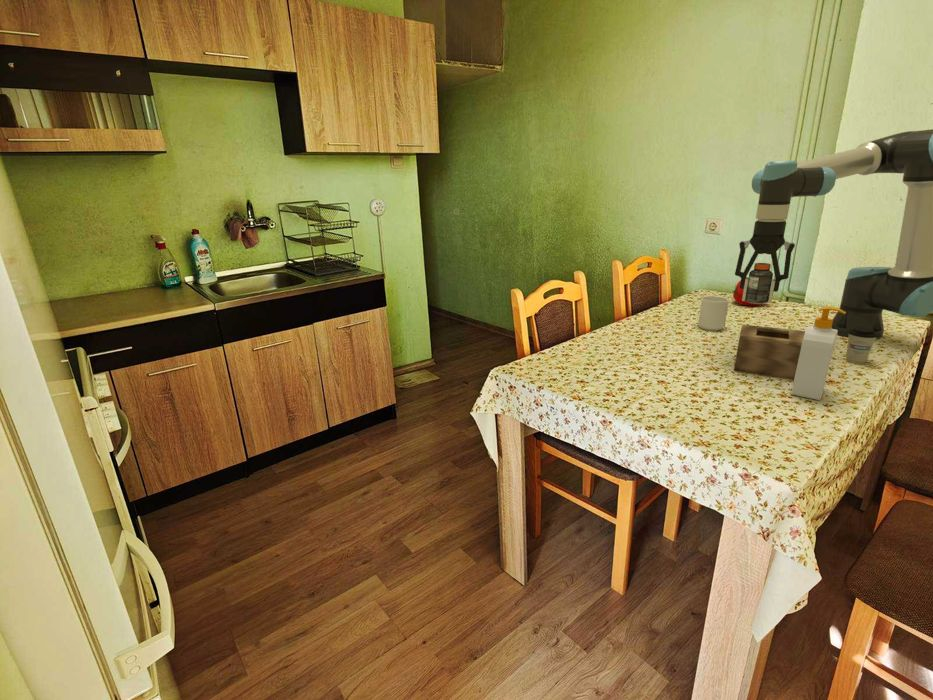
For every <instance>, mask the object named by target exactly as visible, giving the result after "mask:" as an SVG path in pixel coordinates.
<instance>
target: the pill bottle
mask: <svg viewBox="0 0 933 700" xmlns="http://www.w3.org/2000/svg"><path fill="white" fill-rule="evenodd" d="M753 265H754V266H753V269H752V270H750V271H749V272H748V277H749V280H748V286H747V292H746V298H745V300H746V301H747V302H749V303H755V304H761V305H764V304H768V300H769V295H770V290H771V284H772V279H773V276H774V272H773V271H771V267H772V266H771V263H769V262H756V263H755V262H754V264H753Z"/></svg>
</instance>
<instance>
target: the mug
mask: <svg viewBox="0 0 933 700" xmlns="http://www.w3.org/2000/svg"><path fill="white" fill-rule="evenodd" d="M729 303H730V300H729V298H727V297H724V296H718V295H706V296H702V297H701V301H700V308H699V315H698V316H699V317H698V323H697V325H698V326H699V327H700V328H701V329H702V330H705V331H711V332H712V331H713V332H719V331H721V330H722V329H724V328H725V326H726V321H727V320H726V319H727V315H728V308H729Z"/></svg>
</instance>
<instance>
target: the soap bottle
mask: <svg viewBox="0 0 933 700" xmlns="http://www.w3.org/2000/svg"><path fill="white" fill-rule="evenodd" d="M830 311H833V312H841V313H843V314H845V313H846V312H844V311H843V310H840V309H839V308H838V307H837V308H836V307H831V306H823V307H819V309H818V312H822V313H821V317H815V319H814V323H813V325H808V326H807V327H806V328H805V330H804V331H805V334H804V338H803V342H802V346H801V351H800V355H799V360H798V364H797V369H796V374H795V378H794V379H793V383H792V388H791V395H792V396H793V395H794V396H797V397H803V398H805V399H812V400H815V401H816V400H817V401H821V398H822V396H823V392H824V390H825V386H826V383H827V377H828V373H829V369H830V365H831V361H832V357H833V352H834V349H835V344H836V340H837V336H838V334H837V332H838V330H835V329H832V328H831V327H832V323H833V320H832V319H833V318H829V316H830V315H829V314H830Z"/></svg>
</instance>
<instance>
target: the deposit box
mask: <svg viewBox="0 0 933 700" xmlns="http://www.w3.org/2000/svg"><path fill="white" fill-rule="evenodd" d="M805 331H806V330H797V329H789V328H788V329H786V328H779V327H778V328H777V327H770V326H769V327H768V326H761V325H760V326H758V325H752V324H751V325H750V324H742V325H741V328H740V332H739V338H738V344H737V350H736V356H735V360H734V361H735V362H734V367H733V371H736V372H742V373H747V374H748V373H749V374H750V373H751V374H756V375H762V376H769V377H776V378H782V379H789V380H794V378H795V374H796V369H797V364H798V360H799V355H800V351H801V346H802V342H803V338H804V334H805Z"/></svg>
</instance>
